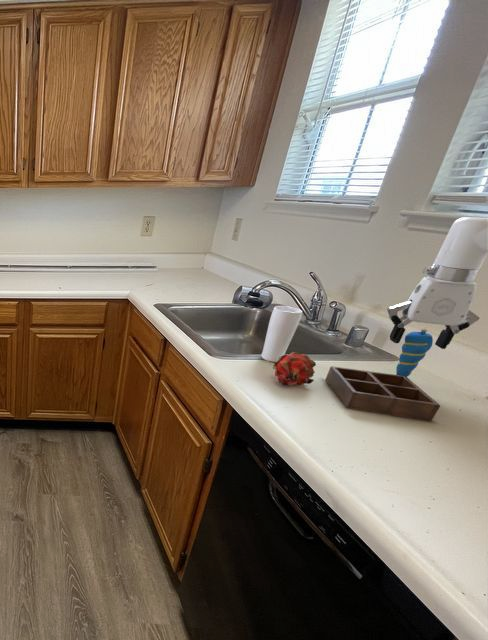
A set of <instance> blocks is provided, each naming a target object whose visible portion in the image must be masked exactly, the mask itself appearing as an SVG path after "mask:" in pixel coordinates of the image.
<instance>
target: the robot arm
mask: <svg viewBox="0 0 488 640" xmlns="http://www.w3.org/2000/svg"><path fill="white" fill-rule="evenodd" d="M487 256H488V217H480V216H479V217H478V216H465V217H460V218H458V219H456V220H454V222H453V223H452V225H451V227H450V229H449V231H448V232H447V235H446V237H445V239H444V241H443V243H442V244H441V247H440V249H439V251H438V254H437V255H436V257H435V259H434V261H433V264H431V266H429V267H423V269H422V273H423V274H426V276H424V277H423V278H421V280H420V281H419V282H418V283H417V285H416V286H415V288H414V289H413V291H412V292H411V293H410V296H409V297H408V298H407V300H406V301H405V302H402V303H399V304H395V305H391V306H389V307H388V308H387V309H386V310H387V314H388V318H389V319H390V321H391V322H392V324H393V328H392V330H391V332H390V333H389V334H390V335H389V340H390V341H391V342H393V343H394V344H400V342H401V340H402V338H403V336H404V334H405V332H406V328H405V327H406V326H407V325H409V324H411V323H413V322H415V323H423V324H431V325H441V326H442V325H443V326H444V327H445V329H442V330H441V331H440V334H438V337H437V339H436V340H435V342H434V345H435V346H436V347H438V348H440V349H442V350H445V349H446V348H447V347H448V346H449V345H450V343H451V342H452V340H453V338H454V336H455V335H457V334H459V333H460V332H461V331H463V330H465V329H468V328H469V327H471V326H472V325H473V324H475V323H476V322H478V321H479V320H480V316H478V315H477V314H476V313H474V312H473V311H471V310H470V309H471V306H472V304H473V301H474V298H475V295H476V291H477V288H478V287H477V286H478V283H477V282H474V280H475V279H476V277H477V275H478V273H479V271H480V269H481V268H482V266H483V264H484V262H485V261H486V259H487ZM400 311H402V312H401V316H398V312H400Z"/></svg>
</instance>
